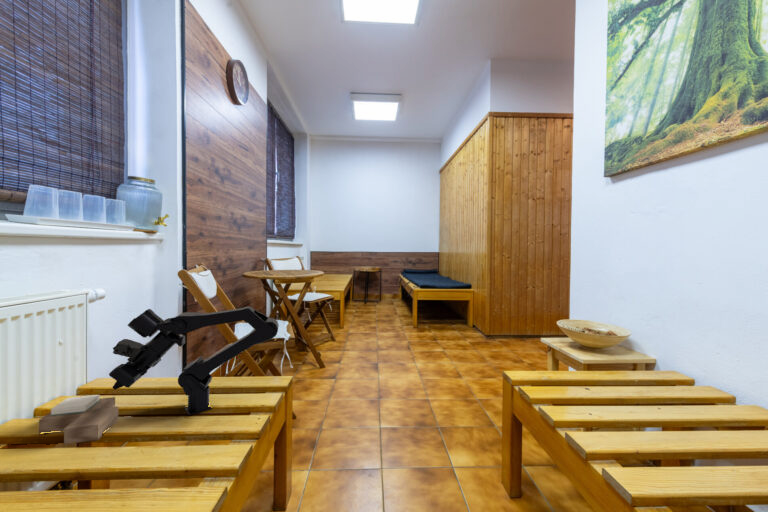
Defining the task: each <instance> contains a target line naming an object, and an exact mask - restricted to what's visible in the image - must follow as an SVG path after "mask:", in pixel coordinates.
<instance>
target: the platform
mask: <svg viewBox="0 0 768 512" xmlns="http://www.w3.org/2000/svg"><path fill="white" fill-rule="evenodd" d="M117 422H119V406H116V396H113V397H103V398H100V400H99V402H97V403H96V404H95V405H93V406H92V407H91V408H90V409H88V410H87V411H86V412H80V413H71V414H62V415H53V416H52V415H51V411H50V412H49V413H48V414H45V416H43V417H41V418H39V420H38V434H39V433H41V432H51V431H64V432H63V445H70V444H77V443H84V442H92V441H98V440H100V439H101V438H102V437H103V436H102V434H103V432H104V431H105V430H107V429H108V428H110V427H111V426H112V427H113V426H114V425H115V424H116V423H117ZM112 427H111V428H112ZM111 428H110V429H111Z"/></svg>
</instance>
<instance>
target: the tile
mask: <svg viewBox="0 0 768 512" xmlns="http://www.w3.org/2000/svg"><path fill="white" fill-rule="evenodd" d="M100 399H101V398H100V394H93V395H83V396H73V397H66V399H64V400H62V401H61V402H59V403H58V404H56V405H54V406H53V407H52V408H51V409H50V412H51V415H52V416H53V415H62V414H71V413H80V412H86V411H87V410H88V409H90V408H91V407H92V406H93V405H95V404H96V403H97V402H99V400H100Z"/></svg>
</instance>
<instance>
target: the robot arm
mask: <svg viewBox="0 0 768 512" xmlns="http://www.w3.org/2000/svg"><path fill="white" fill-rule="evenodd" d="M242 321H244V322H246V323H247V324H248V325H249V326H251V327H252V328H253V329H252V330H251V331H250V332H249V333H247V334H246V335H244V336H242V337H240V338H239V339H238V340H236V341H234V342H233V343H231V344H229V345H228V346H226V347H224V348H222V349H221V350H219V351H218V352H216V353H214V354H213V355H210V356H209V357H207V358H203V356H202V355H200V356H199V357H198V358H196V359H195V360H192V361H190V362H188V363H187V365H186V366H185V367H184V368H183V369H182V372H181V373H179V375H178V378H177V383H178V385H179V386H180V387H181V388H182V390H183V392H184V393H185V396H187V405H188V407H183V409H184V410H185V412H186V413H187V414H188V415H189V416H192V415H196V414H199V413H202V412H205V411H208V410H211V409H212V408H211V407H208V405H209V402H210V384H211V382H212V380H213V375H211V373H212V372H213V371H214V370H215V369H218V368H220V367H221V366H222V365H224V364H225V363H227V362H228V361H230V360H232V359H233V358H235V357H237V356H238V355H240V354H241V353H243V352H245V351H246V350H247V349H249V348H251V347H253V346H254V345H255V346H256V345H258V344H262V343H265V342H267V341H269V340H272V339H273V338H275V337H277V334H278V331H279V327H280V324H279V322H278V320H277V319H276V318H274V317H268V316H267V315H266V314H264V313H262V312H260V311H258V310H257V309H255V308H254V307H252V306H250V305H249V306H248V305H247V306H245V307H240V308H233V309H226V310H219V311H213V312H199V311H198V312H197V311H196V312H195V311H192V312H191V311H190V312H189V311H185V312H182V313H180V314H178V315H176V316H174V317H169V318H166V319H162V318H161V317H160V316H159V315H157V314H156V313H155V312H154V310H152V309H151V308H148V309H146V310H145V311H143V312H142V313H140V314H139V315H138V316H137V317H134V318H133V319H132V320H131V321H130V322H129V323H128V324H127V326H128V327H129V328H130V329H131V330H132V331H134V333H137V334H138V335H139V336H140V337H142V338H143V339H144V338H146V339H147V338H152V337H153V336H154V337H153V338H152V339H151V340H149V341H148V342H146V343H145V344H142V343H141V342H138V341H135V340H133V339H132V340H131V339H129V338H124V339H122V340H119V341H118V342H117V343H116V345H115V346H114V347H112V349H113V351H112V354H114V355H116V356H117V355H118V356H121V357H126V358H127V359H126V360H127V362H126V363H120V364H119V365H117V366H116V367H115V368H114V369H112V371H110V372H109V373H108V375H109V377H110V378H112V379H113V380H115V382H114V384H113V386H112V389H113V390H119V389H120V388H122V387H125V388H130V387H131V386H132V385H134V384H135V383H136V382H137V381H139V380H140V379H141V378H142V377H143V376H145V375H146V374H147V373H148V370H150V369H151V368H154V367H156V365H158V364H159V363H160V362H161V361H162V358H163V357H164V356H165V355H166V354H167V353H168V352H169V351H170V349H172V348H173V347H174V346H175V345H178V347H182V346H184V345H185V344H186V334H188V333H191V332H194V331H197V330H199V329H202V328H205V327H211V326H218V325H222V324H223V325H224V324H229V323H236V322H242Z"/></svg>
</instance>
